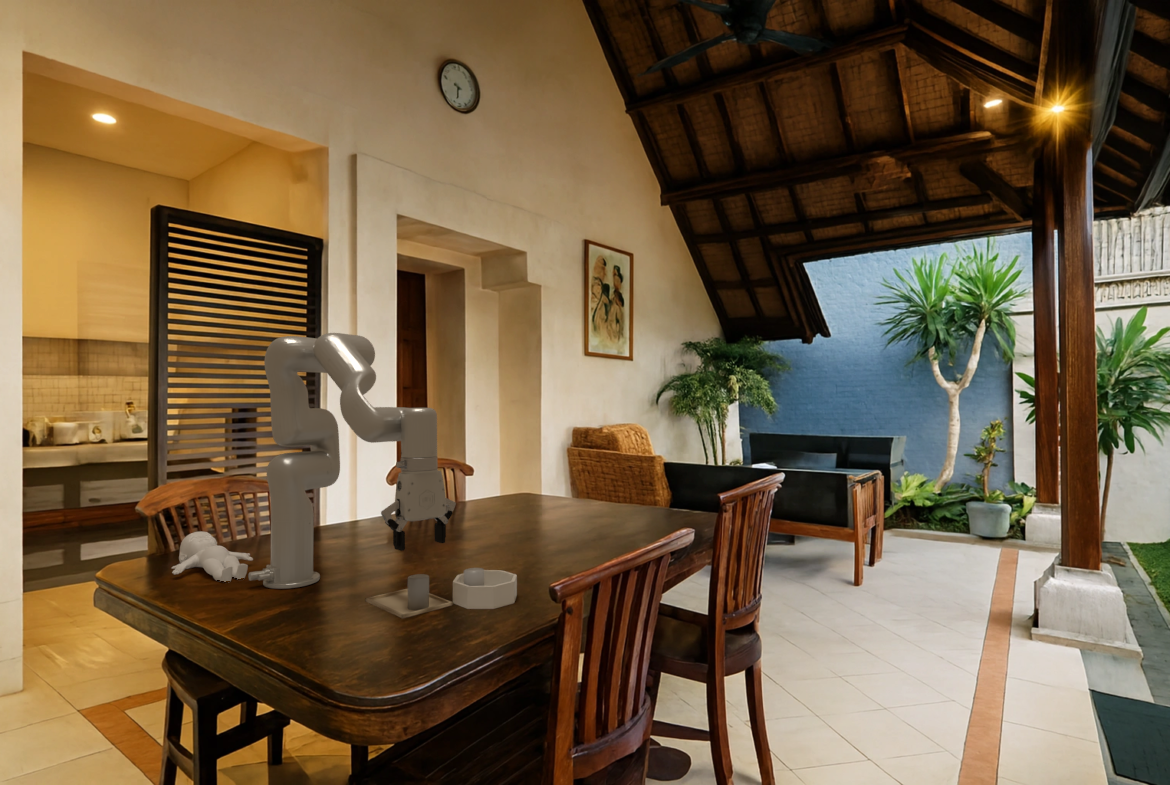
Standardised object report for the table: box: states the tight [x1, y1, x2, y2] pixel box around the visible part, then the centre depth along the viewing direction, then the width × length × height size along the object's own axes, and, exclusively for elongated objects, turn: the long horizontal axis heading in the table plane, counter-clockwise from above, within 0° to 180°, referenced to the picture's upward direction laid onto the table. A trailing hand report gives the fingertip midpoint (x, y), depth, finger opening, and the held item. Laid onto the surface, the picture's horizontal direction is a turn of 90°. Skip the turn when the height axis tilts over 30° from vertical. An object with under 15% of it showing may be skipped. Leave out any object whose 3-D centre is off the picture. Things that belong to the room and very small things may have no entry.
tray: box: [364, 588, 454, 619], centre depth 139 cm, size 12×16×1 cm
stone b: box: [407, 573, 430, 610], centre depth 137 cm, size 4×4×6 cm
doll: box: [170, 531, 254, 583], centre depth 167 cm, size 19×9×30 cm
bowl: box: [452, 569, 518, 610], centre depth 142 cm, size 13×13×5 cm
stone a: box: [463, 567, 485, 586], centre depth 140 cm, size 4×4×6 cm
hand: (420, 545), depth 136 cm, fingers open, 9 cm apart
